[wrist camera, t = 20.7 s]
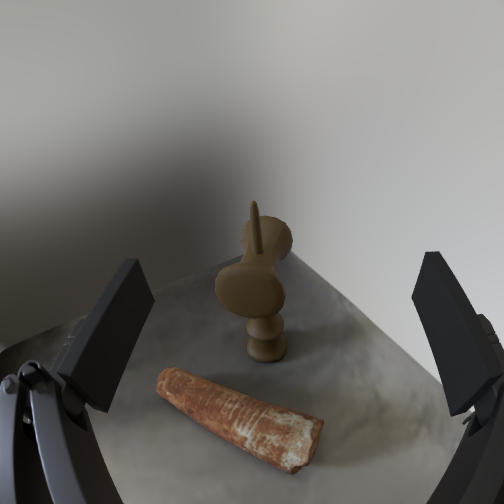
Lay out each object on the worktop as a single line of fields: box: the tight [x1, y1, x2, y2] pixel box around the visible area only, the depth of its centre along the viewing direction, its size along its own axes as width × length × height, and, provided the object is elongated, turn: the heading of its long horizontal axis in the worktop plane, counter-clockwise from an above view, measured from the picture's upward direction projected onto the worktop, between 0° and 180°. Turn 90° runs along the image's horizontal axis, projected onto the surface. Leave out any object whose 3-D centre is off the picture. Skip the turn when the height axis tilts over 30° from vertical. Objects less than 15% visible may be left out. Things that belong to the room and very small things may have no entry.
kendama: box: [215, 201, 293, 363], centre depth 29 cm, size 6×10×20 cm, turn 168°
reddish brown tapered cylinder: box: [156, 367, 324, 475], centre depth 25 cm, size 6×19×6 cm, turn 58°
